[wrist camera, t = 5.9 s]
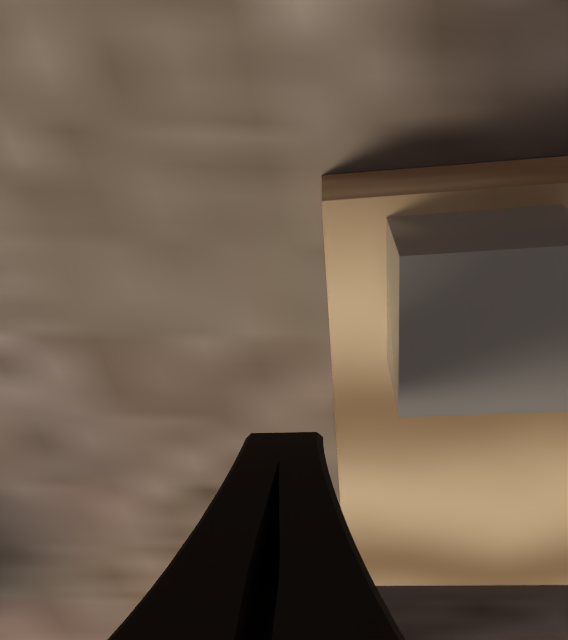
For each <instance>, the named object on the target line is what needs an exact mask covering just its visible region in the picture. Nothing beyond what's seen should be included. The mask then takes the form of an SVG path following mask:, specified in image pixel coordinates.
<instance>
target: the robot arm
mask: <svg viewBox="0 0 568 640" xmlns="http://www.w3.org/2000/svg"><path fill="white" fill-rule="evenodd" d="M108 640H405V638H404V637H403V635H402V633H401V632H400V630H399V628H398V627H397V625H396V623H395V621H394V619H393V618H392V616H391V614H390V612H389V610H388V608H387V607H386V605H385V603H384V601H383V599H382V597H381V596H380V594H379V592H378V590H377V588H376V586H375V584H374V582H373V580H372V578H371V576H370V574H369V572H368V570H367V568H366V566H365V564H364V561H363V559H362V557H361V555H360V553H359V551H358V549H357V546H356V544H355V542H354V540H353V537H352V535H351V533H350V530H349V528H348V525H347V523H346V520H345V518H344V515H343V513H342V510H341V508H340V505H339V502H338V500H337V497H336V494H335V491H334V488H333V485H332V482H331V478H330V475H329V472H328V468H327V464H326V459H325V454H324V448H323V437H322V436H321V435H320V434H318V433H317V432H297V433H251V434H250V435H249V436H248V437H247V438H246V440H245V442H244V444H243V446H242V448H241V450H240V452H239V454H238V456H237V458H236V460H235V462H234V464H233V466H232V468H231V470H230V471H229V473H228V475H227V477H226V478H225V480H224V482H223V484H222V485H221V487H220V489H219V491H218V492H217V494H216V495H215V497H214V499H213V500H212V502H211V503H210V505H209V507H208V508H207V510H206V511H205V513H204V515H203V516H202V518H201V519H200V521H199V523H198V524H197V526H196V527H195V529H194V530H193V531H192V533H191V534H190V536H189V537H188V539H187V540H186V541H185V543H184V544H183V546H182V547H181V548H180V550H179V551H178V553H177V554H176V556H175V557H174V558H173V560H172V561H171V563H170V564H169V565H168V567H167V568H166V570H165V571H164V572H163V573H162V575H161V576H160V577H159V579H158V580H157V581H156V583H155V584H154V585H153V586H152V588H151V589H150V590H149V592H148V593H147V594H146V595H145V597H144V598H143V599H142V600H141V601H140V603H139V604H138V605H137V606H136V607H135V609H134V610H133V611H132V612H131V613H130V615H129V616H128V617H127V618H126V619H125V621H124V622H123V623H122V624H121V625H120V626H119V627H118V629H117V630H116V631H115V632H114V633H113V634H112V635H111V636H110V637H109V639H108Z"/></svg>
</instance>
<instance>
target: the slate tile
mask: <svg viewBox="0 0 568 640" xmlns="http://www.w3.org/2000/svg"><path fill="white" fill-rule="evenodd" d="M386 259H387V362H388V367H389V372H390V377H391V382H392V388H393V393H394V398H395V403H396V408H397V413H398V417H426V416H455V415H483V414H512V413H541V412H568V209H567V208H566V207H565V206H563V205H549V206H535V207H521V208H507V209H492V210H478V211H464V212H450V213H436V214H422V215H408V216H393V217H386Z"/></svg>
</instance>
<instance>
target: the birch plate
mask: <svg viewBox="0 0 568 640" xmlns="http://www.w3.org/2000/svg"><path fill="white" fill-rule="evenodd" d="M549 205H563V206H565V207H566V208H567V209H568V156H560V157H547V158H534V159H522V160H509V161H497V162H484V163H471V164H459V165H446V166H433V167H421V168H408V169H395V170H383V171H370V172H357V173H345V174H332V175H322V213H323V229H324V245H325V261H326V278H327V294H328V310H329V326H330V342H331V358H332V375H333V391H334V407H335V423H336V439H337V455H338V472H339V488H340V504H341V510H342V513H343V515H344V518H345V520H346V523H347V525H348V528H349V530H350V533H351V535H352V537H353V540H354V542H355V544H356V546H357V549H358V551H359V553H360V555H361V557H362V559H363V561H364V564H365V566H366V568H367V570H368V572H369V574H370V576H371V578H372V580H373V582H374V584H375V586H449V585H568V412H541V413H512V414H483V415H455V416H426V417H398V413H397V408H396V403H395V398H394V393H393V388H392V382H391V377H390V372H389V367H388V362H387V259H386V217H393V216H408V215H422V214H436V213H450V212H464V211H478V210H492V209H507V208H521V207H535V206H549Z"/></svg>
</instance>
